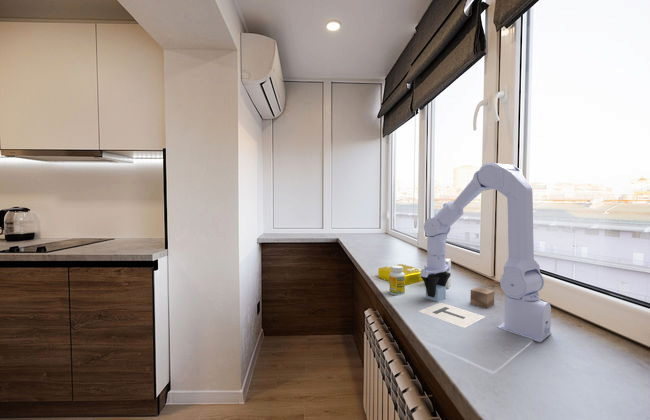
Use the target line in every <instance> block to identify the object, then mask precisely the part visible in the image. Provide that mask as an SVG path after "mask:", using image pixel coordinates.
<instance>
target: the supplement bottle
mask: <svg viewBox="0 0 650 420" xmlns="http://www.w3.org/2000/svg"><path fill="white" fill-rule="evenodd" d="M391 266H392V267H391V270H392V272H390V274H389V281H388V282H389V285H388V286H389V289H388V290H389V294H390V295H392V296H398V295H399V296H400V295H404V294H405V291H406V290H405V289H406V285H405V274H404V273H403V272H402V271H403V267H402V266H393V265H391Z"/></svg>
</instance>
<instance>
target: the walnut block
mask: <svg viewBox="0 0 650 420" xmlns="http://www.w3.org/2000/svg"><path fill="white" fill-rule="evenodd" d="M495 293H496V292H495V290H493V289H488V288H485V287H480V286H476V287H474V288H472V289H470V297H469V298H470V300H469V301H470V303H469V304H470V305H473V306H477V307H480V308H484V309H489V308H491V307H493V306H495Z"/></svg>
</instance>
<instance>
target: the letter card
mask: <svg viewBox="0 0 650 420" xmlns="http://www.w3.org/2000/svg"><path fill="white" fill-rule="evenodd" d="M418 312H419V313H422V314H424V315H428V316H431V317H433V318H436V319H439V320H441V321H444V322H447V323H450V324H453V325H455V326H458V327H461V328H463V329H465V328H468V327H469V326H472V325H473V324H475V323H476V322H478V321H480V320H482V319H485V318H486V315H482V314H479V313H475V312H472V311H470V310H466V309H463V308H459V307H456V306H453V305H450V304H447V303H443V302H442V301H439V302H437V303H434V304H433V305H431V306H427V307H426V308H423V309H420V310H418Z"/></svg>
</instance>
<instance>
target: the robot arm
mask: <svg viewBox="0 0 650 420" xmlns="http://www.w3.org/2000/svg"><path fill="white" fill-rule="evenodd" d="M489 190H496V191H497V192H499V193H500V194H501V195H503V196H504V197H506V199H507V237H508V238H507V239H508V240H507V242H508V243H507V244H508V247H507V250H508V252H507V253H508V258H507V261H506V262H505V264H504V266H503V273H502V275H501V278H500V281H499V285H500V288H501V290H502V291H503V292H504V317H503V319H504V321H503V322H502V323H501V324H500V325H498V326H497V328H498V329H501V330H504V331H506V332H510V333H513V334H516V335H518V336H522V337H525V338H528V339H531V340H532V341H535V342H537V343H542V342H543V341H544V340H545V339H547V337H549V336H550V335H551V334H552V332H551V324H552V322H551V321H552V319H551V318H552V317H551V316H552V306H551V304H550V302H547V301H544V300H542V299H540V295H539V292H541V291H542V289H543V288H544V286H545V279H544V276H543V274H542V273H541V270H540V267H541V266H540V264H539V263H538V262H537V261H536V260H535V255H534V253H535V252H534V251H535V250H534V207H533V206H534V205H533V203H534V202H533V197H534V196H533V194H534V193H533V188H532V186H531V185H530V183H529V181H528V180H527V178H526V177H525V176H524V174H523V169H520V168H518V167H517V166H516V165H514V164H510V163H509V164H508V163H507V164H506V163H505V164H504V163H498V162H497V163H496V162H493V161H491V162H486V163H484V164H483V165H481V167H480V168H479V169H478V170H477V171H475V173H474V174H473V176H472V179H471V180H470V181H469V183H468V184H467V185H466V187H464V189H463V190H462V191H461V192H460V193H459V195H458V196H457V197H456V198H455V200H453V201H448V202H444V203H443V204H442V206H443V207H441V209H440V210H439V211H438V212H436V213H435V214H433V215H434V216H433V217H429V218H426V220H425V222H424V224H423V230H424V233H425V234H426V235H427V238H426V239H427V243H426V245H427V246H426V250H427V251H426V256H427V257H426V265H424V267H423V270H421V278H422V279H423V281H422V282H423V283H424V286H425V291H426V290H427V294H428V296H430V297H435V293H436V286H437V285H440V286H444V287H445V286H446V283H447V281H448V279H449V277H450V276H451V277H452V272H451V273H448V272H446V271H450V265H447V264H445V262H446V255H447V254H446V253H447V251H446V250H447V246H446V245H447V239H448V235H449V233H450V231H451V227H452V226H453V225H454V224H455V223H456V222H457V221H458V220H459V219H460V218H461V217H462V216H463V215H464V208H466V207H467V206H468V205H469V204H470V203H471V202H472V201H474V200H475V199H476V198H477V197H478V196H479V195H481V193H483V192H484V191H489Z"/></svg>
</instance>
